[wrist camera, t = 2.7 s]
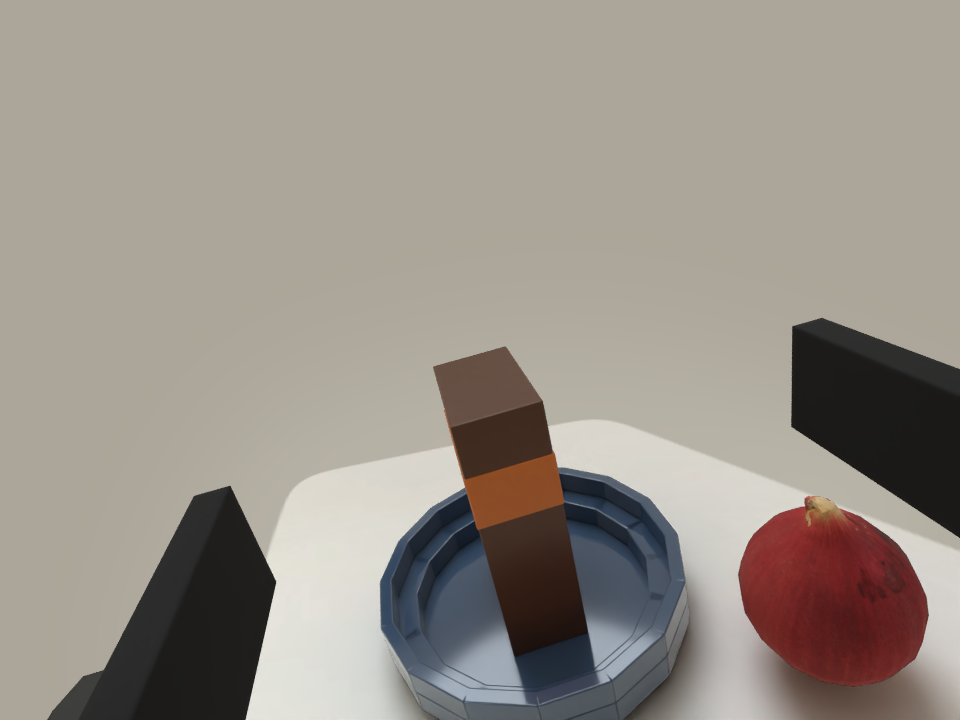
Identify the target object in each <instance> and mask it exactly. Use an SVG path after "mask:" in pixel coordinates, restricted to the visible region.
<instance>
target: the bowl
mask: <svg viewBox="0 0 960 720" xmlns="http://www.w3.org/2000/svg"><path fill="white" fill-rule="evenodd" d="M558 472H559V477H560V482H561V488H562V493H563V498H564V504H563V506H564V511H565V516H566V521H567V526H568V531H569V536H570V541H571V546H572V551H573V556H574V561H575V566H576V571H577V576H578V581H579V586H580V591H581V596H582V601H583V607H584V612H585V617H586V622H587V627H588V633H585V634H582V635H579V636H576V637H573V638H570V639H567V640H564V641H561V642H558V643H555V644H552V645H549V646H546V647H543V648H540V649H537V650H534V651H531V652H528V653H525V654H522V655H519V656H516V657H515V656H514V654H513V651H512V647H511V644H510V640H509V637H508V633H507V629H506V626H505V622H504V619H503V615H502V612H501V608H500V604H499V601H498V597H497V594H496V590H495V587H494V583H493V580H492V576H491V572H490V569H489V565H488V562H487V558H486V555H485V551H484V547H483V544H482V540H481V537H480V533H479V530H478V529H477V527H476V524H475V520H474V517H473V513H472V510H471V506H470V502H469V499H468V495H467V492H466V488H464V489H462V490H460V491H459V492H457V493H455V494H453V495H452V496H450V497H448V498H447V499H445V500H443V501H441V502H440V503H438V504H436V505H435V506H433V507H432V508H430V509H429V510H428V511H427V512H426V513H425V514H424V515H423V516H422V517H421V519H420V520H419V521H418V522H417V523H416V524H415V525H414V526H413V527H412V528H411V529H410V530H409V531H408V532H407V533H406V534H405V535H404V536H403V537H402V538H401V539H400V541H398V544H397V546H396V548H395V550H394V552H393V555H392V557H391V559H390V561H389V563H388V565H387V568H386V570H385V572H384V574H383V576H382V579H381V581H380V612H381V630H382V633H383V635H384V638H385V640H386V643H387V645H388V647H389V650H390V652H391V655H392V657H393V660H394V662H395V665H396V666H397V668H398V670H399V671H400V673H401V675H402V676H403V678H404V680H405V681H406V683H407V685H408V686H409V688H410V690H411V691H412V693H413V695H414V696H415V698H416V700H417V701H418V703H419V705H420V706H421V708H422V709H423V710H424V711H426V712H428V713H429V714H431V715H433V716H434V717H436V718H438V719H440V720H623V719H624V718H625V717H626V716H627V715H628V714H629V713H631V712H632V711H633V710H634V709H635V708H636V707H637V706H638V705H639V704H640V703H641V702H642V701H643V700H644V699H645V698H646V697H647V696H648V695H650V694H651V693H652V692H653V691H654V690H655V689H656V688H657V687H658V686H659V685H660V684H661V683H662V682H663V681H664V680H665V679H666V678H668V676H669V675H670V674H671V671H672V668H673V665H674V663H675V660H676V657H677V654H678V651H679V649H680V646H681V643H682V640H683V637H684V635H685V632H686V629H687V626H688V623H689V611H688V601H687V590H686V580H685V574H684V568H683V562H682V556H681V550H680V544H679V538H678V535H677V533H676V531H675V530H674V529H673V528H672V526H671V525H670V524H669V522H668V521H667V520H666V519H665V517H664V516H663V515H662V514H661V512H660V511H659V510H658V509H657V507H656V506H655V505H654V504H653V502H652V501H651V500H650V499H649V498H648V497H646V496H644V495H642V494H641V493H639V492H637V491H635V490H633V489H631V488H630V487H628V486H626V485H624V484H622V483H620V482H619V481H617V480H615V479H613V478H611V477H609V476H605V475H600V474H595V473H589V472H584V471H579V470H574V469H569V468H563V467H562V468H558Z"/></svg>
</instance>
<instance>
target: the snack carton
mask: <svg viewBox="0 0 960 720" xmlns="http://www.w3.org/2000/svg"><path fill="white" fill-rule="evenodd" d="M433 368H434V372H435V376H436V379H437V383H438V386H439V390H440V394H441V398H442V401H443V405H444V408H445V410H444V412H445V416H446V419H447V423H448V426H449V430H450V434H451V437H452V441H453V444H454V448H455V452H456V456H457V459H458V463H459V467H460V470H461V474H462V477H463V481H464V485H465V488H466V492H467V495H468V499H469V502H470V506H471V510H472V513H473V517H474V520H475V524H476V527H477V529H478V530H479V533H480V537H481V540H482V544H483V547H484V551H485V555H486V558H487V562H488V565H489V569H490V572H491V576H492V580H493V583H494V587H495V590H496V594H497V597H498V601H499V604H500V608H501V612H502V615H503V619H504V622H505V626H506V629H507V633H508V637H509V640H510V644H511V647H512V651H513V654H514V656H515V657H516V656H519V655H522V654H525V653H528V652H531V651H534V650H537V649H540V648H543V647H546V646H549V645H552V644H555V643H558V642H561V641H564V640H567V639H570V638H573V637H576V636H579V635H582V634H585V633H588V627H587V622H586V617H585V612H584V607H583V601H582V596H581V591H580V586H579V581H578V576H577V571H576V566H575V561H574V556H573V551H572V546H571V541H570V536H569V531H568V526H567V521H566V516H565V511H564V506H563V504H564V498H563V493H562V488H561V482H560V477H559V472H558V467H557V462H556V457H555V453H554V452H553V450H552V445H551V440H550V435H549V430H548V425H547V420H546V415H545V410H544V405H543V401H542V399H541V398H540V397H539V395H538V394H537V392H536V391H535V389H534V388H533V386H532V385H531V383H530V382H529V380H528V379H527V377H526V376H525V374H524V373H523V371H522V370H521V368H520V367H519V365H518V364H517V362H516V361H515V359H514V358H513V356H512V355H511V354H510V352H509V351H508V349H507V348H506V347H502V348H498V349H495V350H491V351H487V352H484V353H480V354H477V355H473V356H470V357H466V358H462V359H459V360H455V361H452V362H448V363H444V364H441V365H437V366H434V367H433Z"/></svg>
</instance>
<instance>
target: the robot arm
mask: <svg viewBox="0 0 960 720" xmlns="http://www.w3.org/2000/svg"><path fill="white" fill-rule="evenodd" d="M791 417H792V418H791V423H792V424H791V425H792V426H791V427H793V428H794V429H796V430H797V431H799V432H800V433H802V434H803V435H805V436H806V437H808V438H809V439H811V440H812V441H814V442H815V443H817V444H818V445H820V446H821V447H823V448H824V449H826V450H828V451H829V452H830V453H832V454H833V455H835V456H837V457H838V458H839V459H841V460H842V461H844V462H846V463H847V464H849V465H850V466H852V467H853V468H855V469H856V470H858V471H859V472H861V473H862V474H864V475H865V476H867V477H868V478H870V479H871V480H873V481H874V482H876V483H877V484H879V485H880V486H882V487H884V488H885V489H886V490H888V491H890V492H891V493H893V494H894V495H896V496H897V497H899V498H900V499H902V500H903V501H905V502H906V503H908V504H909V505H911V506H912V507H914V508H915V509H917V510H918V511H920V512H921V513H923V514H925V515H926V516H927V517H929V518H930V519H932V520H933V521H935V522H937V523H938V524H940V525H941V526H943V527H944V528H946V529H947V530H949V531H950V532H952V533H953V534H955V535H956V536H958V537H959V538H960V369H958V368H955V367H952V366H950V365H947V364H944V363H941V362H939V361H936V360H934V359H931V358H928V357H926V356H923V355H920V354H918V353H915V352H912V351H909V350H907V349H904V348H901V347H899V346H896V345H893V344H890V343H888V342H885V341H883V340H880V339H877V338H875V337H872V336H869V335H867V334H864V333H861V332H858V331H856V330H853V329H850V328H848V327H845V326H842V325H839V324H837V323H834V322H832V321H828V320H826V319H824V318H820V319H817V320H813V321H810V322H806V323H803V324H799V325H796V326H793V327H792V416H791ZM275 585H276V580H275V578H274V576H273V574H272V572H271V570H270V568H269V566H268V564H267V561H266V559H265V557H264V555H263V553H262V551H261V549H260V547H259V545H258V543H257V541H256V538H255V537H254V534H253V532H252V530H251V528H250V526H249V524H248V522H247V520H246V518H245V515H244V513H243V511H242V509H241V507H240V505H239V503H238V501H237V499H236V497H235V495H234V493H233V490H232V488H231V486H228V487H224V488H221V489H217V490H214V491H210V492H207V493H203V494H199V495H196V496H194V497H193V499H192V501H191V503H190V505H189V507H188V509H187V510H186V513H185V514H184V517H183V518H182V520H181V522H180V524H179V526H178V528H177V530H176V532H175V534H174V536H173V538H172V540H171V541H170V543H169V546H168V547H167V549H166V551H165V553H164V555H163V557H162V559H161V561H160V563H159V565H158V567H157V569H156V570H155V572H154V574H153V576H152V578H151V580H150V582H149V584H148V586H147V588H146V590H145V592H144V594H143V596H142V598H141V600H140V601H139V603H138V605H137V607H136V609H135V611H134V613H133V615H132V617H131V619H130V621H129V623H128V625H127V627H126V628H125V630H124V632H123V634H122V636H121V638H120V640H119V642H118V644H117V646H116V648H115V650H114V652H113V654H112V655H111V658H110V660H109V662H108V663H107V665H106V667H105V669H104V670H103V671H100V672H96V673H93V674H90V675H87V676H83V677H82V678H81V680H80V681H79V682H78V683H77V684H76V685H75V686H74V687H73V689H72V690H71V691H70V692H69V693H68V694H67V695H66V696H65V698H64V699H63V700H62V701H61V702H60V703H59V704H58V705H57V707H56V708H55V709H54V710H53V711H52V713H51V715H50V716H49V718H48V720H246V715H247V711H248V706H249V702H250V697H251V693H252V688H253V684H254V679H255V675H256V670H257V666H258V661H259V657H260V653H261V648H262V644H263V639H264V635H265V630H266V626H267V621H268V617H269V612H270V608H271V603H272V599H273V594H274V590H275Z"/></svg>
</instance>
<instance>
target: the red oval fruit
mask: <svg viewBox="0 0 960 720" xmlns="http://www.w3.org/2000/svg"><path fill="white" fill-rule="evenodd" d="M804 502H805V507H799V508H795V509H792V510H788V511H785V512H782V513H779V514H778V515H776V516H774V517H773V518H771V519H770V520H769V521H768V522H767V523H766V524H764V525H763V526H762V527H761V528H760V529H759V530H758V531H756V532H755V533H754V534H753V536H752V538H751V539H750V541H749V542H748V545H747V547H746V550H745V552H744V555H743V558H742V560H741V564H740V569H739V573H738V576H739V583H740V589H741V596H742V601H743V605H744V610H745V613H746V615H747V617H748V618H749V620H750V622H751V623H752V625H753V626H754V628H755V630H756V631H757V633H758V634H759V636H760V638H761V639H762V640H763V641H764V642H765V643H766V644H767V645H768V646H769V647H770V648H771V649H773V650H774V651H775V652H776V653H777V654H778V655H779V656H781V657H782V658H783V659H784V660H785V661H786V662H787V663H789V664H790V665H791V666H792V667H793V668H795V669H797V670H799V671H802V672H804V673H806V674H808V675H810V676H812V677H814V678H816V679H818V680H820V681H822V682H828V683H834V684H840V685H846V686H852V687H854V686H860V685H866V684H872V683H877V682H881V681H883V680H885V679H887V678H889V677H891V676H893V675H895V674H896V673H897V672H899V671H900V670H901V669H902V668H904V667H905V666H906V665H908V664H909V663H910V662H912V661H913V660H914V659H915V658H916V656H917V654H918V652H919V649H920V647H921V645H922V642H923V638H924V634H925V629H926V625H927V621H928V616H929V614H928V606H927V597H926V595H925V592H924V590H923V588H922V586H921V583H920V581H919V579H918V577H917V575H916V573H915V571H914V569H913V567H912V565H911V563H910V561H909V559H908V557H907V555H906V554H905V553H904V552H903V550H902V549H901V548H900V546H899V545H898V544H897V543H896V542H895V541H893V540H892V539H891V538H890V537H889V536H888V535H886V534H885V533H883V532H882V531H880V530H879V529H877V528H876V527H875V526H873V525H872V524H870V523H869V522H867V521H866V520H864V519H863V518H862V517H860V516H858V515H855V514H853V513H850V512H847V511H845V510H842V509H839V508H838V507H837V506H836V505H835V503H834V502H832V501H830V500H828V499H826V498H823V497H820V496H812V497H811V496H808V497H806V498H805V501H804Z"/></svg>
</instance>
